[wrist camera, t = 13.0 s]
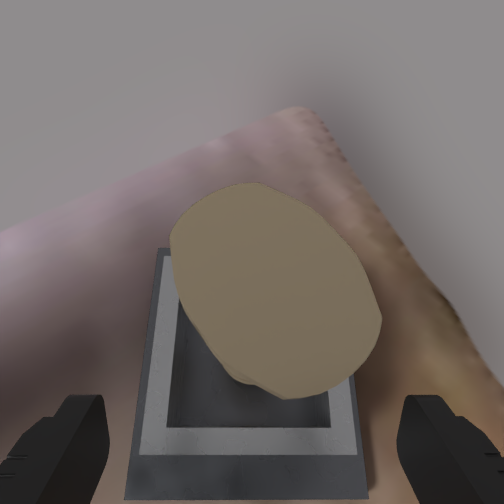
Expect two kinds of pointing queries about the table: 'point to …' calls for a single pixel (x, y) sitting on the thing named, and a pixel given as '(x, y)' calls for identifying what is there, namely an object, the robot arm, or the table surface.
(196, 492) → the socket
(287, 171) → the table surface
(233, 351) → the handle
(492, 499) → the robot arm
